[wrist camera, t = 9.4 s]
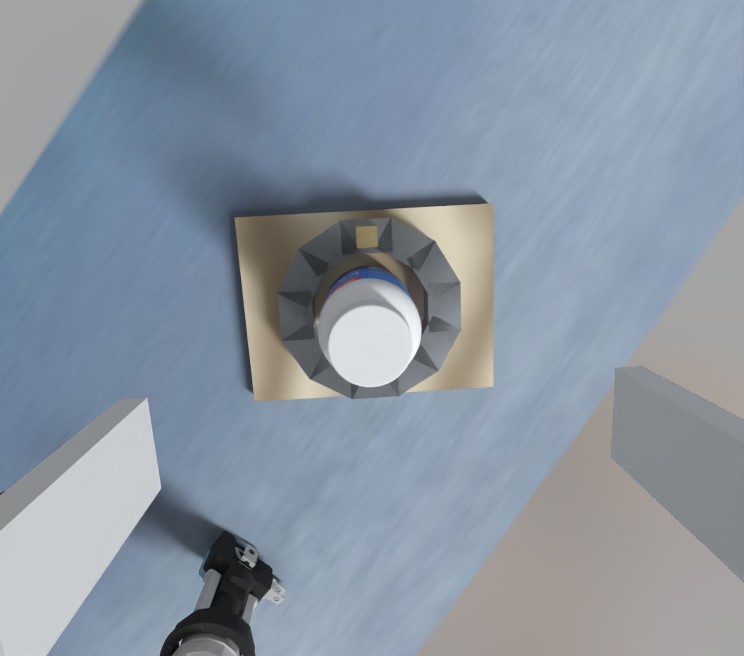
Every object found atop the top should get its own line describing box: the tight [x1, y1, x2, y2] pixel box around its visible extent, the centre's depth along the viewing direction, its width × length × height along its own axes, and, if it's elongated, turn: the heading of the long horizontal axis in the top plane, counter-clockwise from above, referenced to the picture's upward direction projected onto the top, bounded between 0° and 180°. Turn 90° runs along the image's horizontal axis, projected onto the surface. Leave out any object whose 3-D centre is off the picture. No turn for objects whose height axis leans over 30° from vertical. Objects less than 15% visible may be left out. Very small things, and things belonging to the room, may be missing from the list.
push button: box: [160, 532, 286, 656], centre depth 33 cm, size 7×5×10 cm
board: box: [234, 203, 493, 402], centre depth 34 cm, size 16×12×1 cm
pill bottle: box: [318, 266, 422, 387], centre depth 29 cm, size 6×5×10 cm
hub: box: [277, 217, 461, 399], centre depth 32 cm, size 11×11×3 cm
